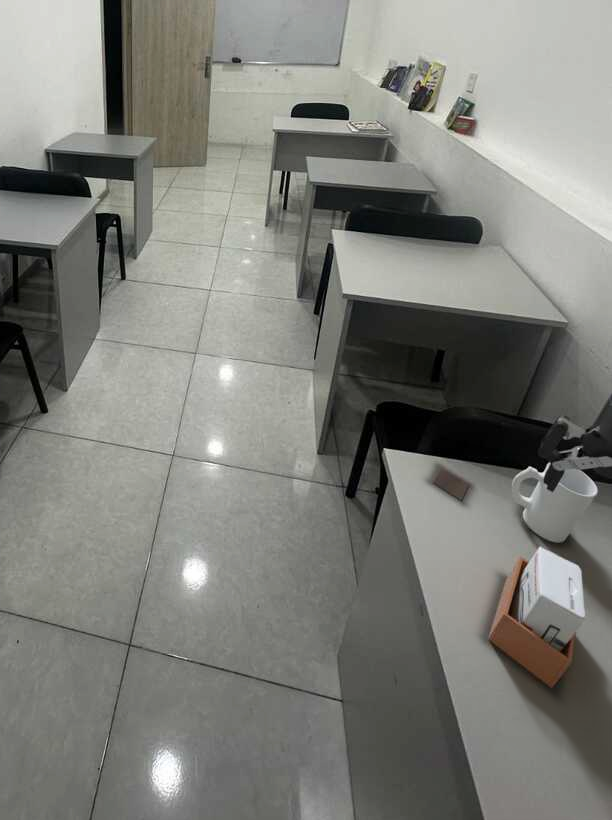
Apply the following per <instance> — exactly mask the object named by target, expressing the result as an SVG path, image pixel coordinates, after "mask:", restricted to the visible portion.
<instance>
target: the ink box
mask: <svg viewBox="0 0 612 820" xmlns="http://www.w3.org/2000/svg"><path fill="white" fill-rule="evenodd" d="M582 574H583V571H582V569H581V568H580V566H579V565H578V564H576V563H574V562H572V561H570V560H568V559H567V558H565V557H563V556H560V555H558V554H557V553H555V552H552V550H551V551H550V550H548V549H547V548H545V547H542V546H539V547H538V548H537V549H536V551H535V553H534V554H533V556H532V558H531V559H530V560H529V563H528V565H527V566H526V568H525V569H524V571H523V572H522V574H521V575H520V577H519V578H518V580H517V583H516V586H515V590H514V593H513V597H512V600H511V604H510V607H509V611H508V615H509V616H511V617H512V618H513V619H515V620H516V621H518V622H519V623H520V624H522V625H523V626H525V627H526V628H527V629H529V630H530V631H531V632H533V633H534V634H536V635H537V636H538V637H540V638H541V639H543V640H544V641H545V642H547V643H548V644H549V645H551V646H552V647H554V648H555V649H556V650H558V651H559V652H561V650H562V649H563V648H564V646H565V645H566V644H567V643H568V641H569V640H570V639H571V638H572V636H573V635H574V634H575V632H576V633H577V631H578V630H579V628H580V627H581V626H582V624H583V623H584V622H585V621H586V610H585V609H586V608H585V607H586V606H585V598H584V587H583V584H584V583H583V575H582Z"/></svg>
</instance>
